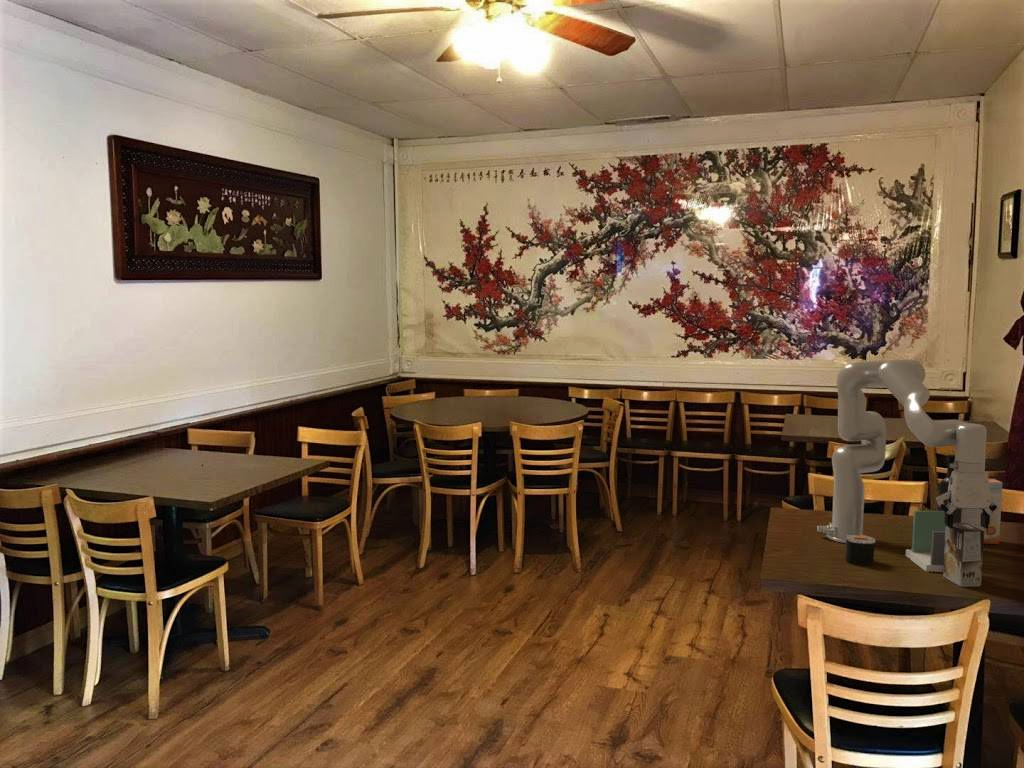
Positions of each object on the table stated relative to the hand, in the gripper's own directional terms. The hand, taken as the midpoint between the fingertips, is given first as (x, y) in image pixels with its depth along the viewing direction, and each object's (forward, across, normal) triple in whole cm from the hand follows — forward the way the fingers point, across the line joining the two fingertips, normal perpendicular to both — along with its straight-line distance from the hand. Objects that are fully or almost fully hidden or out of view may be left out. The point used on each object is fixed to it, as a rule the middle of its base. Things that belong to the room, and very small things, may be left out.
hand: (966, 527), depth 239 cm
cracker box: (+16, +22, +41) cm, 49 cm away
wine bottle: (+16, +11, +35) cm, 40 cm away
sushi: (+16, -23, +17) cm, 33 cm away
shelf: (+16, 0, +16) cm, 23 cm away
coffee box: (+16, 0, +1) cm, 16 cm away
